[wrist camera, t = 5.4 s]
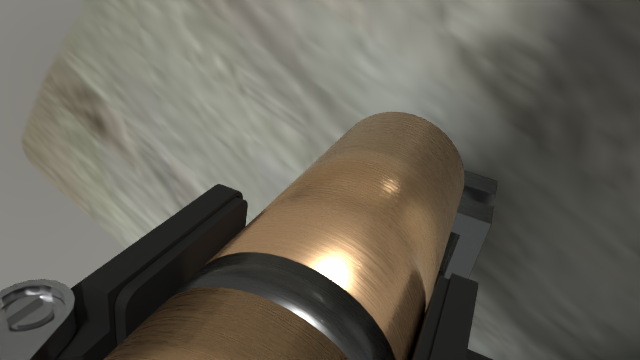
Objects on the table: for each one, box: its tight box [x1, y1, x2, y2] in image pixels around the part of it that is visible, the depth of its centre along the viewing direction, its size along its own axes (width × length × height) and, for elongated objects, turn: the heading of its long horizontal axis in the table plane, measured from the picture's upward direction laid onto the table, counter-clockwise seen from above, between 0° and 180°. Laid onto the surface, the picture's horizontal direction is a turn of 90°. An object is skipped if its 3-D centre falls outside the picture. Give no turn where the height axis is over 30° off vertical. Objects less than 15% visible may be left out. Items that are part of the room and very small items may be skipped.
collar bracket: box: [428, 171, 498, 305], centre depth 29 cm, size 9×13×10 cm
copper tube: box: [103, 112, 464, 360], centre depth 10 cm, size 4×4×14 cm
